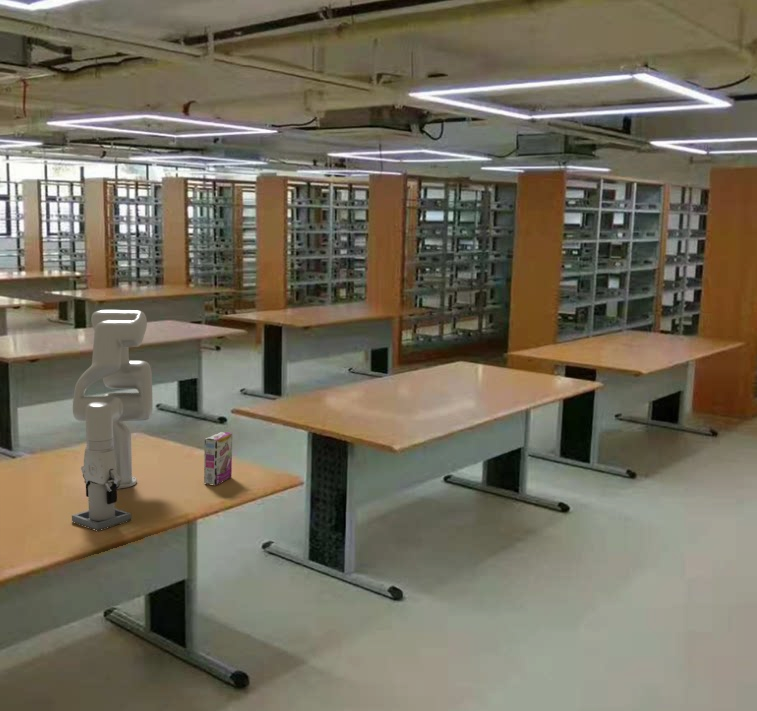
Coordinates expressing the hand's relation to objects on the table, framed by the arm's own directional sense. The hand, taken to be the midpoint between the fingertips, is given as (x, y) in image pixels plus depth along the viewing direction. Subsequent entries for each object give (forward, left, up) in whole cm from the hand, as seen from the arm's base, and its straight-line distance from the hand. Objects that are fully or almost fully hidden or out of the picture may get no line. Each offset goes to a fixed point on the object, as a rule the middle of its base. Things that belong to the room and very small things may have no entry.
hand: (101, 499), depth 249 cm
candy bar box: (-2, +50, -7) cm, 50 cm away
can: (0, 0, -6) cm, 6 cm away
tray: (0, 0, -7) cm, 7 cm away
